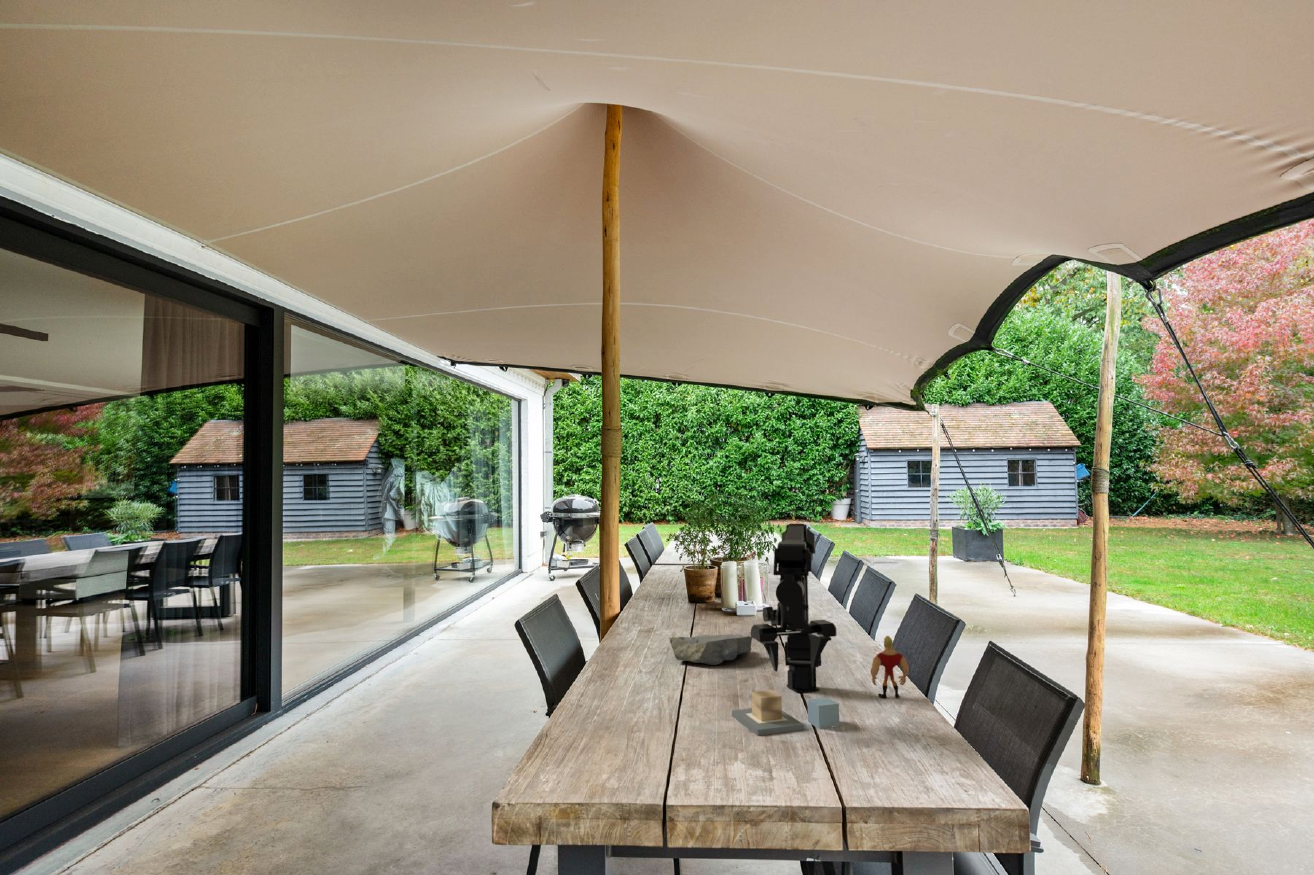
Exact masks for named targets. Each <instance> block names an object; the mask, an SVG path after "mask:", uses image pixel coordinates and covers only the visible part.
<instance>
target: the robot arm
mask: <svg viewBox="0 0 1314 875" xmlns="http://www.w3.org/2000/svg"><path fill="white" fill-rule="evenodd" d="M785 527H786V529H785V530H784V531H783V532H782V533H781V541H779V542H778V543H777V547H776V548H774V551H773V552H774V553H773V574H772V575H773V576H779V583H778V584H777V586H776V589H775V596H776V599H777V601H778V602H777V605H776V606H777V608H776V609H773V607H772V606H764V607H763V608H762V618H763V619H762V620H763V622H765V623H759V624H753V625H752V626H751V628H750V637H752V639H754V640H756V641H757V642H758V643H760V644H762V645H763V646H764V648H765V651H766V653H767V655H768V657H769V661H770V663H771V667H772V668H773V671H774V672H778V670H779V642H778V641H776V640H777V638H778V637H784V636H787V637H786V641H784V661H785V662H784V663H785V666H786V667H787V666H788V670H787V684H786V686H785V687H787V688H788V689H791V691H794V692H796V693H799V694H800V693H807V692H808V693H809V692H816V691H820V690H821V689H820V687H818V686H817V668H819V667H821V666H822V653H823V651H824V649H825V647H826V645H827V644H828V642H830V641H832V637H833V638H834V637H837V635H838V634H837V627H836V624H835V623H833V622H831V621H828V620H826V619H815V620H810V622H809V616H810V615H809V586H808V585H809V580H808V576H810V573H812V565H813V564H812V562H813V560H814V555H816V551H817V550H816V537H815V536H816V535H815V533H814V532H812V531H811V530H810V529H808V526H807V524H805V523H800V522H799V523H795V522H793V523H788V524H786V525H785ZM767 622H769V623H770V624H768V623H767ZM776 626H778V627H776Z"/></svg>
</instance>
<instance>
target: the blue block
mask: <svg viewBox="0 0 1314 875" xmlns="http://www.w3.org/2000/svg"><path fill="white" fill-rule="evenodd" d="M806 700H807V722H808V723H809V724H810V723H811V724H810V725H813V726H814V727H815V726H816V729H819V730H823V729H828V728H827V727H831V728H833V727H832V726H839V727H840V703H838V702H836V701H835V700H833V699H831V698H830V697H819V698H810V699H806ZM822 728H823V729H822Z"/></svg>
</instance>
